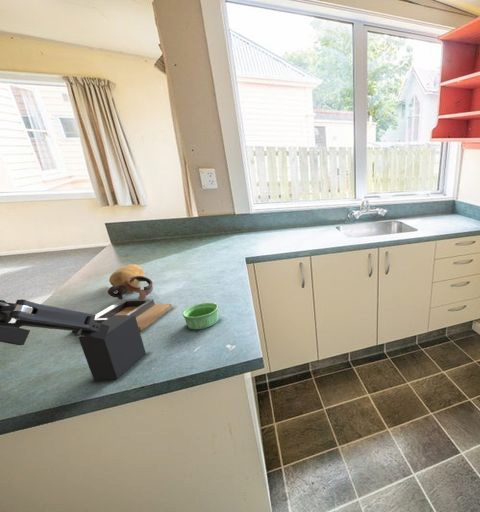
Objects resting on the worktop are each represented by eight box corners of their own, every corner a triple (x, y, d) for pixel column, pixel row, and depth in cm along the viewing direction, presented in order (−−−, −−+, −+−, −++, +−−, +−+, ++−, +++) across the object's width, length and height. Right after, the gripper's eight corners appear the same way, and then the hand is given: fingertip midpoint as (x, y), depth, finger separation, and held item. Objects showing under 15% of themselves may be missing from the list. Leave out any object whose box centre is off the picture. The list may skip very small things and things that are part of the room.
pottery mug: (140, 290, 110) (147, 272, 108) (153, 306, 107) (161, 288, 105) (98, 295, 99) (106, 275, 97) (112, 313, 96) (120, 292, 94)
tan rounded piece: (151, 278, 120) (146, 259, 118) (141, 291, 108) (135, 271, 105) (121, 281, 116) (115, 262, 114) (107, 296, 104) (100, 275, 101)
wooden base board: (73, 332, 82) (69, 321, 81) (114, 308, 95) (111, 299, 94) (141, 331, 83) (138, 320, 82) (172, 307, 96) (169, 298, 95)
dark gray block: (93, 380, 65) (77, 336, 61) (125, 354, 73) (113, 315, 70) (117, 379, 65) (103, 336, 62) (146, 353, 74) (135, 314, 70)
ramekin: (206, 313, 93) (203, 300, 92) (227, 318, 90) (225, 305, 89) (178, 327, 85) (175, 313, 84) (200, 333, 82) (197, 319, 81)
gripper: (-229, 335, 34) (-22, 361, 53) (18, 322, 37) (131, 351, 56) (-178, 275, 37) (-1, 319, 56) (44, 268, 40) (142, 312, 59)
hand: (65, 335), depth 56 cm, fingers open, 13 cm apart
